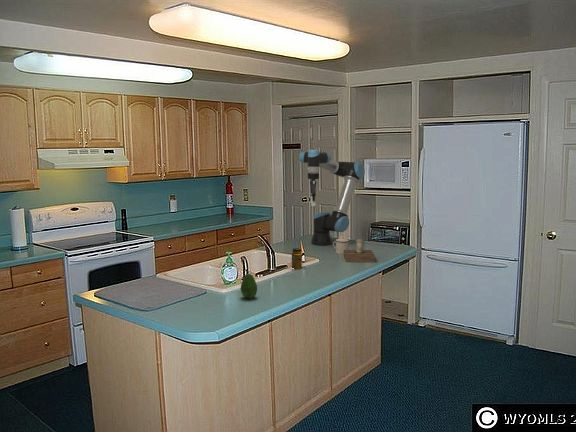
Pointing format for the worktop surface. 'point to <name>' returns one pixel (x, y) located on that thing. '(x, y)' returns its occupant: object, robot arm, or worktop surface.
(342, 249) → the teacup with lid
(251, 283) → the avocado
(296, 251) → the condiment
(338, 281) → the worktop surface
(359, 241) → the birch pin
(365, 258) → the walnut hole block
